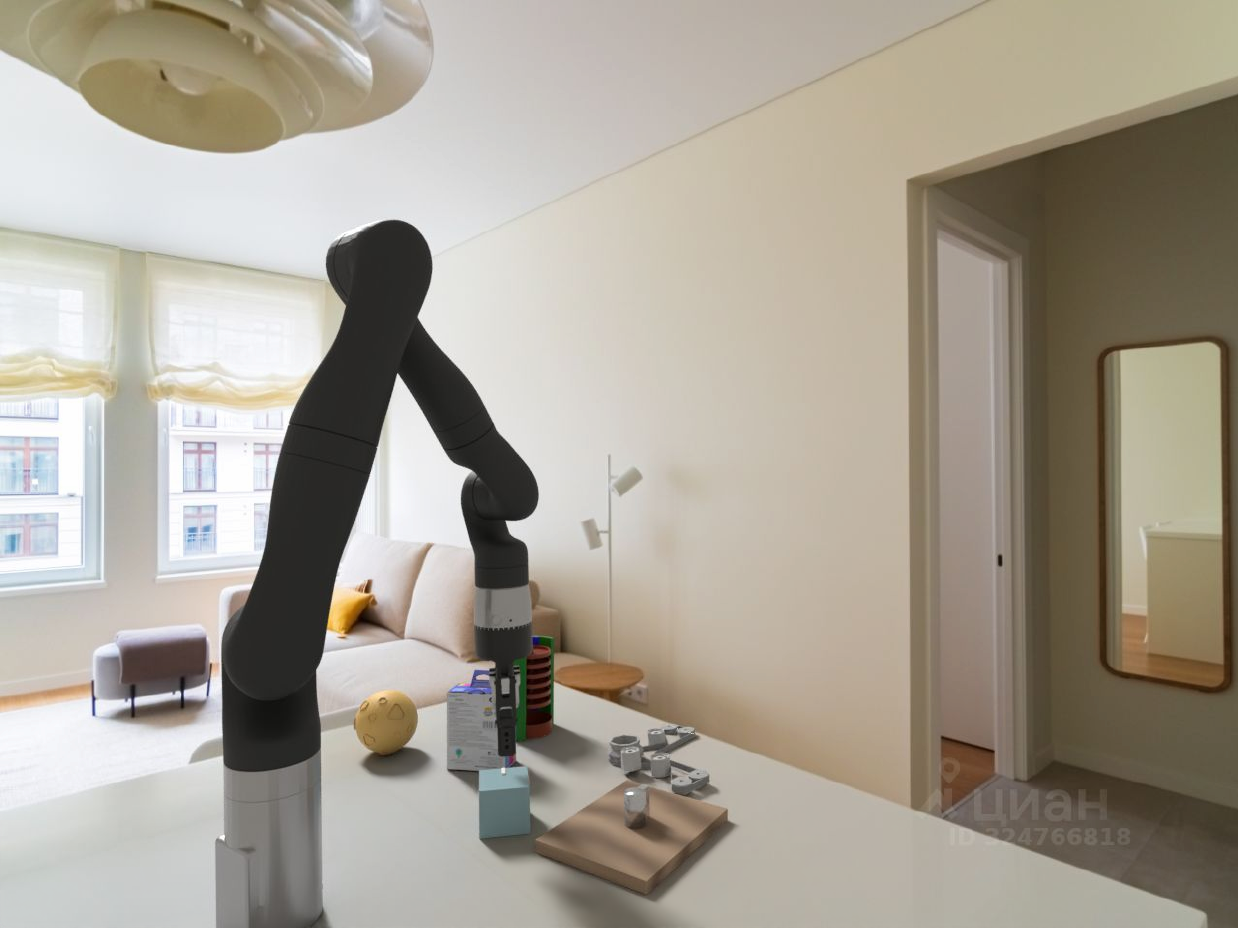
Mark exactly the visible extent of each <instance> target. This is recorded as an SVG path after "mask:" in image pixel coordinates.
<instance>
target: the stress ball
mask: <svg viewBox="0 0 1238 928" xmlns="http://www.w3.org/2000/svg"><path fill="white" fill-rule="evenodd" d="M418 715H419V714H418V709H417V707H416V705H415V703H414V702H413V700H412V699H411V698H410V697H409V696H408V695H407V694H405V693H403V692H401V691H398V690H396V689H395V690H393V689H385V690H380V691H378V692H376V693H373V694H371V695H370V696H369V697H367V698H366V699H365V700H364V701H363V702H362V703H361V704H360V706H359V709H358V711H356V713H355V715H354V718H353V730H354V731H355V732H356V736H357V738H358V740H359V742H360V743H361V744H362V745H363V746H364V748H366V749H368V750H369V751H371V752H374V753H378V754H379V755H380V756H387V755H388V756H389V755H392V754H394V753H396V752H397V751H398V750H400V749H402V748H403V747H405V746H406V745H407V744H408V743H409V742H410V741H411V739H412V738H413V737H414V735H415V733H416V731H417V727H418V723H419V716H418Z"/></svg>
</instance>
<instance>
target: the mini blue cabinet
mask: <svg viewBox="0 0 1238 928" xmlns="http://www.w3.org/2000/svg"><path fill="white" fill-rule="evenodd" d="M478 830H479V833H478V835H479V836H478V837H479V839H480V840H481V839H491V838H499V837H502V838H503V837H510V836H518V835H530V834H531V787H530V778H529V773H528V766H527V765H526V766H525V765H524V766H514V767H512V766H511V767H510V768H501V769H489V770H479V771H478Z"/></svg>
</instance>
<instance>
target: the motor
mask: <svg viewBox="0 0 1238 928" xmlns="http://www.w3.org/2000/svg"><path fill="white" fill-rule="evenodd" d="M532 641H533V650H532V653H531V654H530V655H529V656H527V657H525V658H522V659H517V660H515V661H514V663H513V666H519V671H520V685H519V706H518V708H516V718H517V719H518V723H516V724H517V725H516V742H517V741H518V742H526V741H527V739H531V740H533V739H539V738H544V737H546V736H548V735H550V734H551V733H552V732H553V724H554V722H555V721H554V715H555V713H554V712H555V711H554V709H555V707H554V706H555V704H554V703H555V695H554V694H555V688H554V687H555V638H554V637H552V636H545V635H532Z"/></svg>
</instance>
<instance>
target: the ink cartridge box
mask: <svg viewBox="0 0 1238 928" xmlns="http://www.w3.org/2000/svg"><path fill="white" fill-rule="evenodd" d="M483 675H485V676H488V677H489V669H488V670H487V669H473V674H472V678H471V682H470V683H458V684H456V685H454V686H453V687H452V688H451V689H449V691H447V692H446V769H447V770H455V771H457V770H459V771H473V772H474V771H475V772H479V770H489V769H501V768H512V766H513V765H514V764H515V762H516V761H517V752H516V753H515V755H513V756H505V757H500V756H499V755H498V730H497V724H496V725H495V720H496V710H494V709H493V708H492V689H491V688H490V683H489V679H477V677H478V676H479V677H480V676H483ZM515 736H516V726H515Z"/></svg>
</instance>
